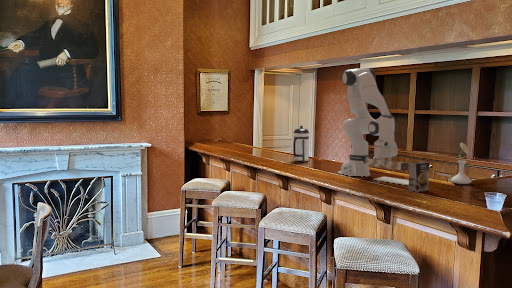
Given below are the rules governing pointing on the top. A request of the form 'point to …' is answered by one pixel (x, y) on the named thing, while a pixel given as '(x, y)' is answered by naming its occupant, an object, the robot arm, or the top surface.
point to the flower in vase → (462, 168)
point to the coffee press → (301, 144)
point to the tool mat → (393, 180)
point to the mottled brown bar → (387, 164)
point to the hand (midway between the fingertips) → (385, 164)
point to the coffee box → (418, 176)
